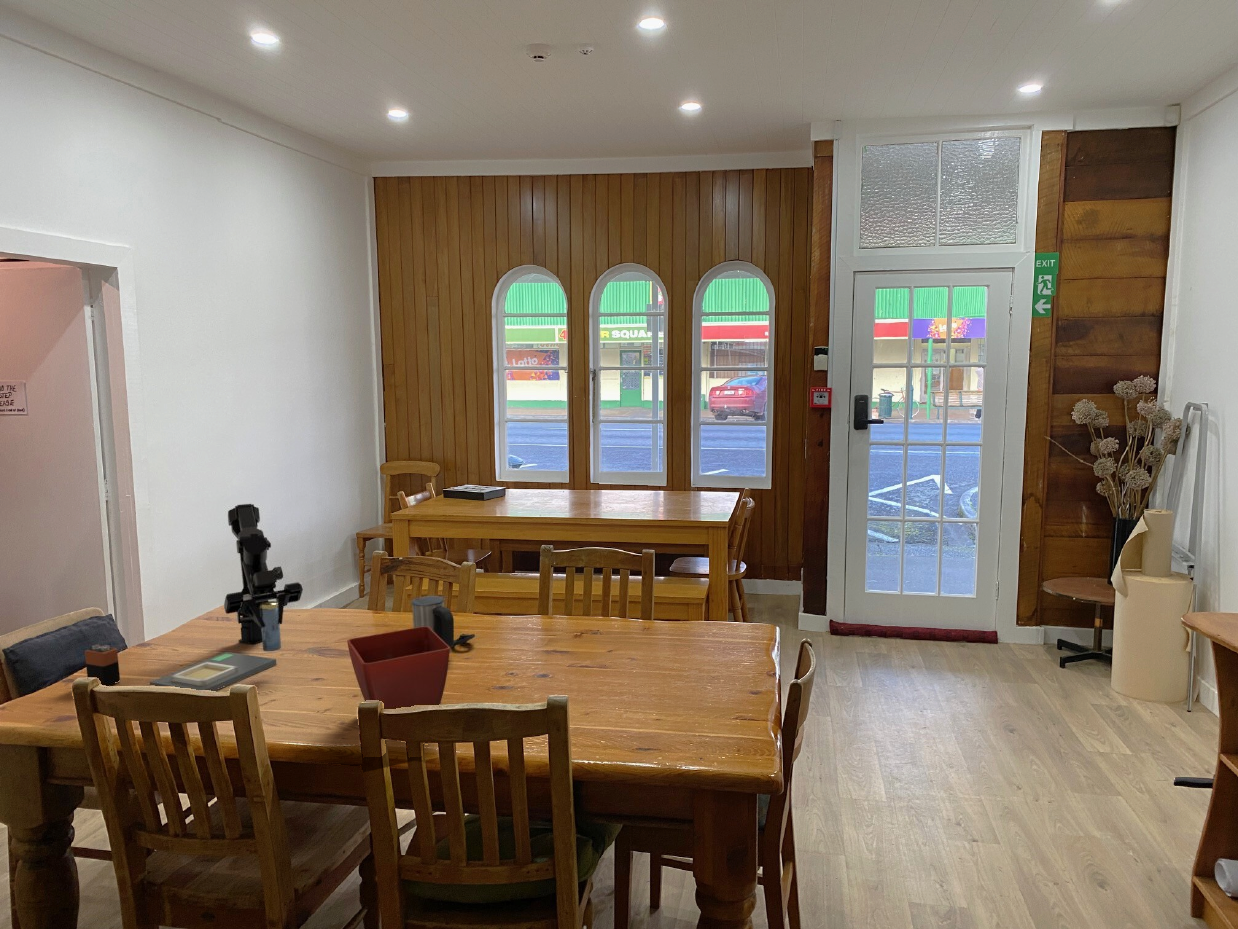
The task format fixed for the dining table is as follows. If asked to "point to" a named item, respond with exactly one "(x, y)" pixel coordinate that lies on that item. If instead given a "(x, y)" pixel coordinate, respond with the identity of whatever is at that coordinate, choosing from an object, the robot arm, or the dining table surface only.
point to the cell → (270, 626)
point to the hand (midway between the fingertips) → (271, 625)
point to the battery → (103, 664)
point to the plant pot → (401, 667)
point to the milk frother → (436, 619)
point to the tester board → (216, 672)
